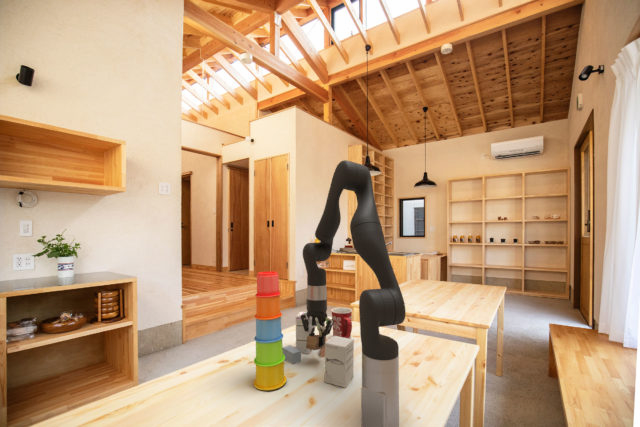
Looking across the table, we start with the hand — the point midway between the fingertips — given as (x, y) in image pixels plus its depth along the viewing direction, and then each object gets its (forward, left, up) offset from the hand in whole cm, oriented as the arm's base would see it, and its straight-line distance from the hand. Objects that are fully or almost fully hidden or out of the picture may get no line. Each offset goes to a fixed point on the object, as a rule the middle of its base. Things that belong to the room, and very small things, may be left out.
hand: (316, 345), depth 106 cm
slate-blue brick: (-3, +9, -7) cm, 12 cm away
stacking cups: (-19, +4, -7) cm, 21 cm away
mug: (+21, +1, -7) cm, 22 cm away
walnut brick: (-1, 0, -1) cm, 1 cm away
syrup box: (+6, +10, -7) cm, 13 cm away
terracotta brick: (+9, +2, -7) cm, 11 cm away
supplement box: (-5, -13, -7) cm, 15 cm away
